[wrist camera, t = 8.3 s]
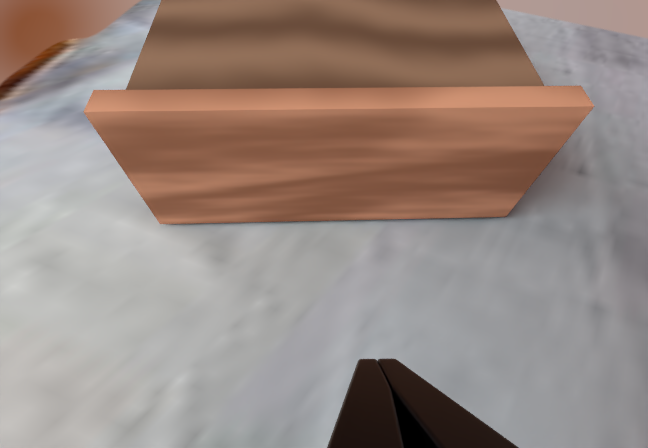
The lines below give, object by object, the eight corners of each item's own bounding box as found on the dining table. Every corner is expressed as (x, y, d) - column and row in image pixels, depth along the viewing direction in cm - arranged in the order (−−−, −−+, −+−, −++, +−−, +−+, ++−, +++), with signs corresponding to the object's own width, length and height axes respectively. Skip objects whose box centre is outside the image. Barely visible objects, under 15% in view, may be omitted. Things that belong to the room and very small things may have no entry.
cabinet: (489, 198, 28) (553, 102, 20) (174, 204, 27) (118, 107, 20) (449, 82, 35) (485, -19, 28) (201, 84, 35) (169, -19, 27)
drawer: (505, 216, 27) (594, 106, 18) (160, 224, 26) (83, 111, 17) (460, 91, 34) (507, -28, 26) (192, 93, 33) (149, -29, 25)
